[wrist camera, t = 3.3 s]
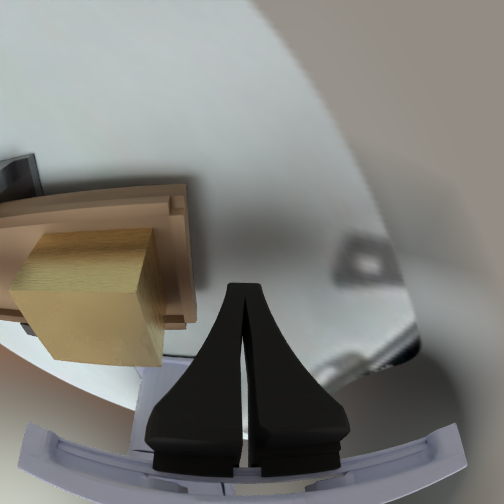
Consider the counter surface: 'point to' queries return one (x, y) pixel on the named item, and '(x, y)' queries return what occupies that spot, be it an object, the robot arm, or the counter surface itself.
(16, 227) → the beam
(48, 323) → the tan wooden block
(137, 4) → the counter surface
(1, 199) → the pivot stand
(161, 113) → the counter surface
